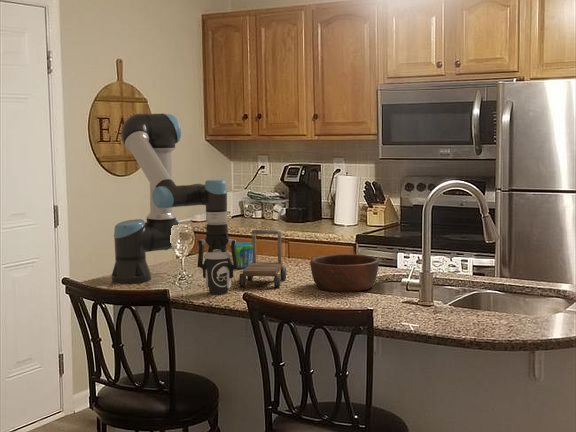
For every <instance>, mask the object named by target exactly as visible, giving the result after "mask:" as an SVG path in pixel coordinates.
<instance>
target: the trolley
mask: <svg viewBox="0 0 576 432" xmlns="http://www.w3.org/2000/svg"><path fill="white" fill-rule="evenodd" d="M257 235H277V262H275V261H273V262H270V261H269V262H268V261H267V262H263V261H262V262H261V261H259V262H258V261H257ZM251 238H252V240H251V243H252V249H253V262H252V263H251V264H250V265H249V266H247V267H246V268H245V269H242V273H240V274H239V278H238V279H239V281H238V282H239V287H240V288H245V287H246V284H247V280H249V281H250V280H251V281H252V280H253V279H254V277H274V278H273V284H274V285H273V286H274V288H281V281H286V280H287V267H285V266H284V265H283V264H284V263H283V262H282V261H283V260H282V250H283V249H282V229H252V230H251Z"/></svg>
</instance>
